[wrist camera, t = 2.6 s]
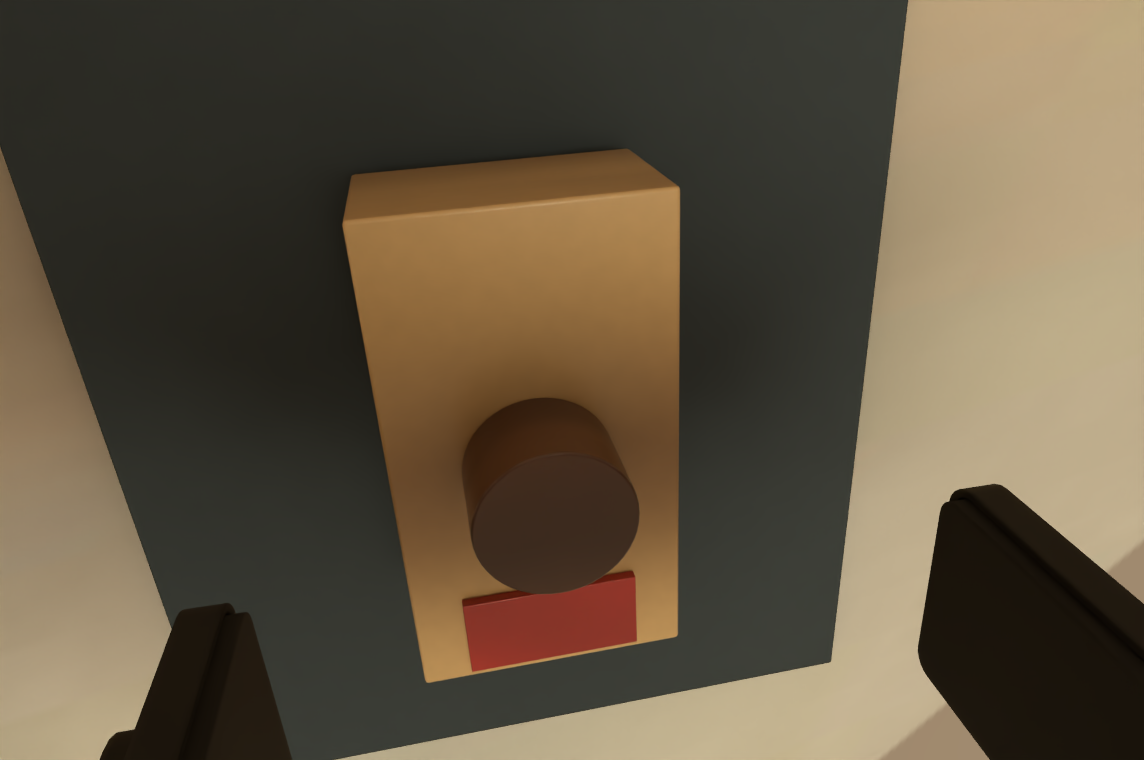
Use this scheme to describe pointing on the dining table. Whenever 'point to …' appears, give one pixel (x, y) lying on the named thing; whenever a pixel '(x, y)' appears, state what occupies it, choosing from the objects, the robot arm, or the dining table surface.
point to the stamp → (526, 399)
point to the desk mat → (332, 327)
